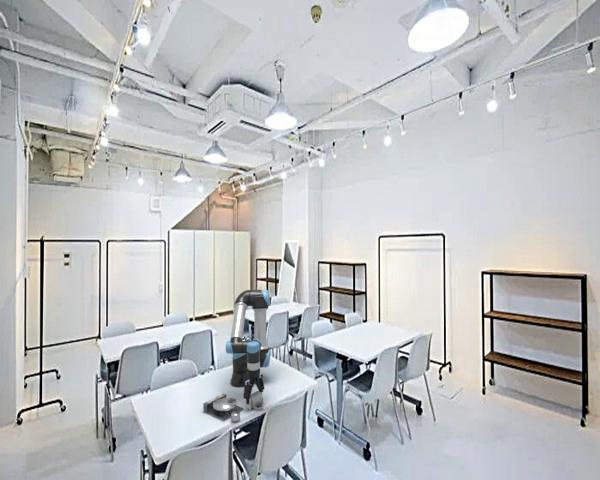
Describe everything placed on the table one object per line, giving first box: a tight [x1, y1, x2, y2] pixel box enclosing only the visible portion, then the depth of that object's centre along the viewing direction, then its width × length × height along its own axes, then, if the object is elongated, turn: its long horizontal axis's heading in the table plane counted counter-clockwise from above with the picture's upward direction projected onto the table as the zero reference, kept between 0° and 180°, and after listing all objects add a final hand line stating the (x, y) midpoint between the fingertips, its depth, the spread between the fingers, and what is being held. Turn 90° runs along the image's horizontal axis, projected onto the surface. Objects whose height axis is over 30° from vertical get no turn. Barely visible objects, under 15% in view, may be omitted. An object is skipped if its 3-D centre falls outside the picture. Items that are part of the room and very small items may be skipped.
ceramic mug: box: [250, 390, 264, 411], centre depth 197 cm, size 11×8×8 cm
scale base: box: [202, 393, 245, 422], centre depth 193 cm, size 15×18×5 cm
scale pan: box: [213, 397, 238, 411], centre depth 192 cm, size 14×14×3 cm
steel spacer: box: [230, 411, 241, 424], centre depth 183 cm, size 5×5×4 cm
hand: (254, 405), depth 198 cm, fingers closed on ceramic mug, 9 cm apart
